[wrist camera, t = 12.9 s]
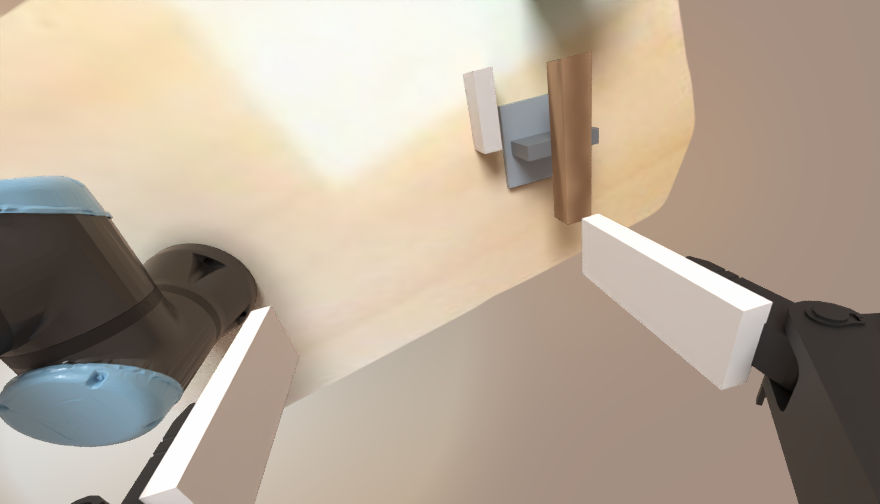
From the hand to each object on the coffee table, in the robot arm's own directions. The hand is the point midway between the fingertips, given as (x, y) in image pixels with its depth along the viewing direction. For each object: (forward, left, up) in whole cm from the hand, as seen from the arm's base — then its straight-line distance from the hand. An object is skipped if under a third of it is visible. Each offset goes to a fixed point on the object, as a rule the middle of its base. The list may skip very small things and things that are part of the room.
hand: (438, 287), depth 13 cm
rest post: (+13, +3, -37) cm, 39 cm away
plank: (+22, -3, -30) cm, 37 cm away
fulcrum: (+22, -3, -37) cm, 43 cm away
